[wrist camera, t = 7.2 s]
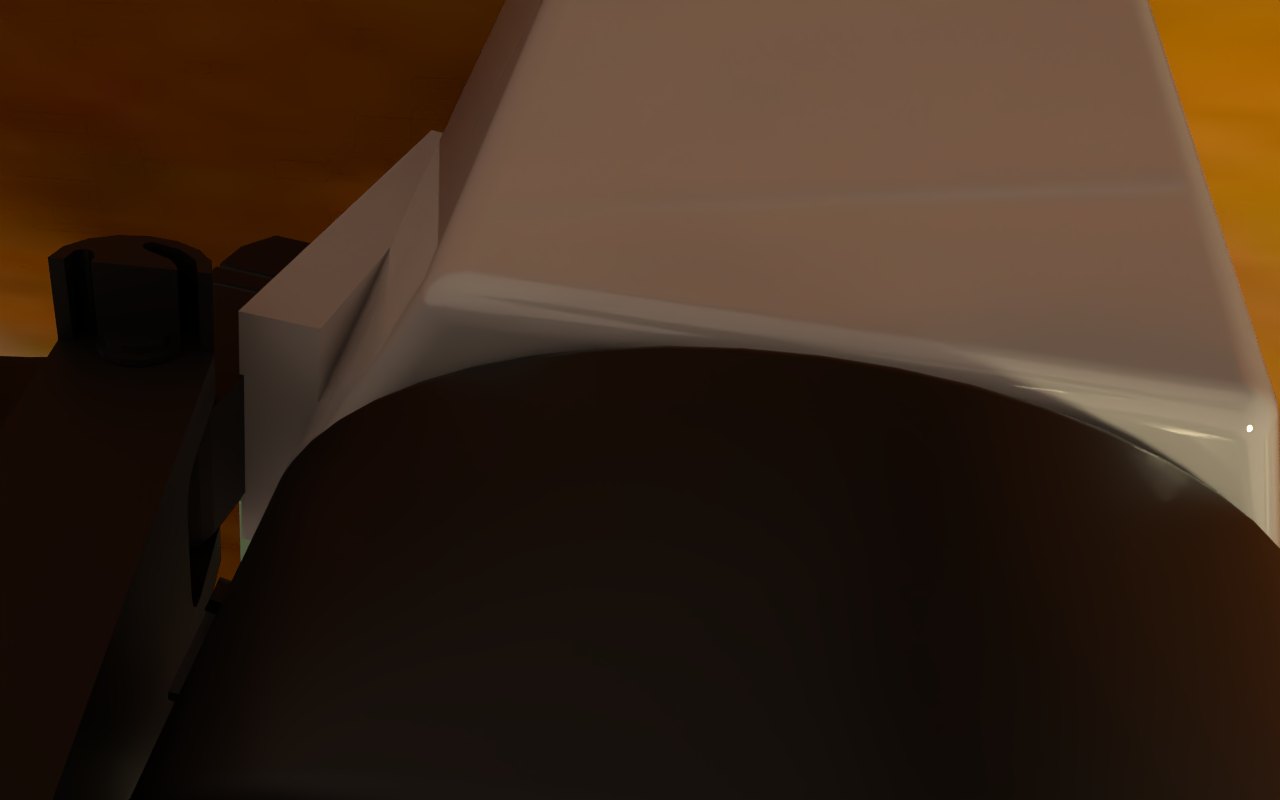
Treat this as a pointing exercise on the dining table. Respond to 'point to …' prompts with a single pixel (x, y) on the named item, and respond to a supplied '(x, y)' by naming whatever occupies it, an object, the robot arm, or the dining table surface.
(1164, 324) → the jar
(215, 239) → the dining table surface
